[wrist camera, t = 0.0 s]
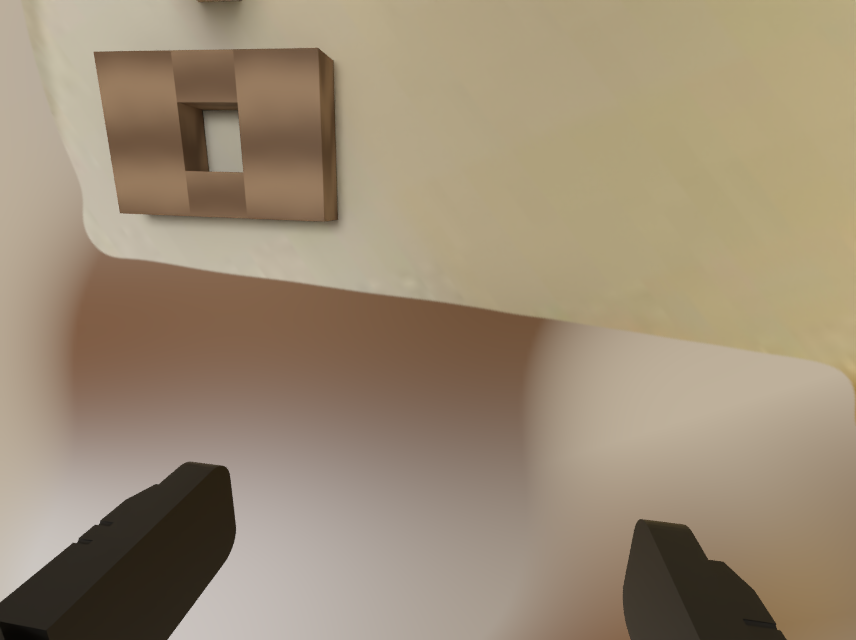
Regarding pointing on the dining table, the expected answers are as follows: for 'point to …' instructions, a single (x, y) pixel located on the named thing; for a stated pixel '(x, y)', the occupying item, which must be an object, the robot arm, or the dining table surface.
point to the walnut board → (185, 137)
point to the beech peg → (216, 0)
